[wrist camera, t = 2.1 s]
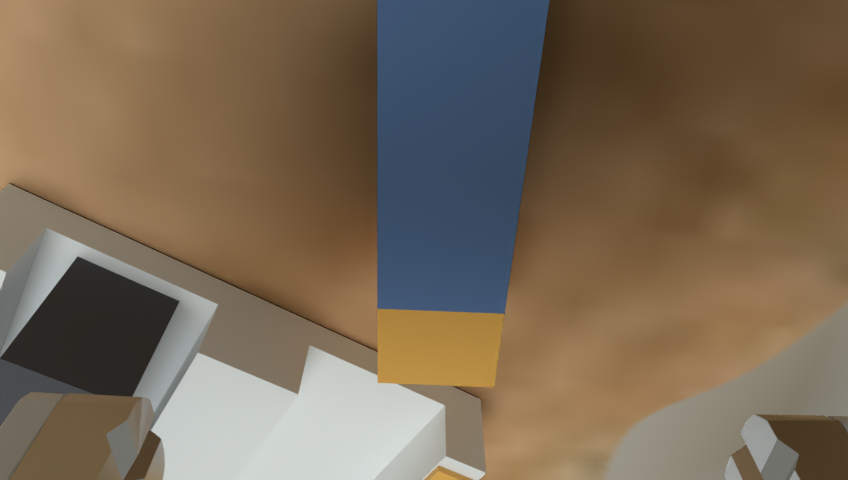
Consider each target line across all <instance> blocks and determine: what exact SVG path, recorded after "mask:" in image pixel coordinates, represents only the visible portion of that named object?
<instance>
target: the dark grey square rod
mask: <svg viewBox="0 0 848 480" xmlns="http://www.w3.org/2000/svg"><path fill="white" fill-rule="evenodd" d="M179 302H180V301H178V300H176V299H174V298H171V297H169V296H167V295H165V294H162V293H160V292H158V291H155V290H153V289H151V288H149V287H146V286H144V285H142V284H139V283H137V282H135V281H133V280H130V279H128V278H126V277H124V276H121V275H119V274H117V273H114V272H112V271H110V270H108V269H105V268H103V267H101V266H98V265H96V264H94V263H92V262H89V261H87V260H85V259H83V258H80V257H78V256H77V258H76V259H75V260H74V262H73V263H72V264H71V266H70V267H69V268H68V270H67V271H66V272H65V274H64V275H63V276H62V277H61V279H60V280H59V281H58V283H57V284H56V285H55V287H54V288H53V289H52V291H51V292H50V293H49V295H48V296H47V297H46V298H45V300H44V301H43V302H42V304H41V305H40V306H39V308H38V309H37V310H36V312H35V313H34V314H33V315H32V317H31V318H30V319H29V321H28V322H27V323H26V325H25V326H24V327H23V329H22V330H21V331H20V333H19V334H18V335H17V336H16V338H15V339H14V340H13V342H12V343H11V344H10V346H9V347H8V348H7V350H6V351H5V352H4V353H3V355H2V356H1V357H0V426H1V425H2V424H3V422H4V421H5V419H6V418H7V417H8V415H9V414H10V412H11V411H12V409H13V408H14V407H15V405H16V404H17V402H18V401H19V400H20V399H21V398H23V397H24V396H26V395H27V394H29V393H31V392H44V393H64V394H69V393H74V394H92V395H110V396H129V397H132V396H133V394H134V392H135V390H136V388H137V386H138V384H139V382H140V380H141V378H142V376H143V374H144V372H145V370H146V368H147V366H148V364H149V362H150V360H151V358H152V356H153V354H154V352H155V350H156V348H157V346H158V344H159V342H160V340H161V338H162V336H163V334H164V332H165V330H166V328H167V326H168V324H169V322H170V320H171V318H172V316H173V314H174V312H175V310H176V308H177V306H178V304H179Z"/></svg>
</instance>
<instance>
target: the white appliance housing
mask: <svg viewBox="0 0 848 480" xmlns="http://www.w3.org/2000/svg"><path fill="white" fill-rule="evenodd" d="M77 256H78V257H80V258H83V259H85V260H87V261H89V262H92V263H94V264H96V265H98V266H101V267H103V268H105V269H108V270H110V271H112V272H114V273H117V274H119V275H121V276H124V277H126V278H128V279H130V280H133V281H135V282H137V283H139V284H142V285H144V286H146V287H149V288H151V289H153V290H155V291H158V292H160V293H162V294H165V295H167V296H169V297H171V298H174V299H176V300H178V301H180V302H179V304H178V306H177V308H176V310H175V312H174V314H173V316H172V318H171V320H170V322H169V324H168V326H167V328H166V330H165V332H164V334H163V336H162V338H161V340H160V342H159V344H158V346H157V348H156V350H155V352H154V354H153V356H152V358H151V360H150V362H149V364H148V366H147V368H146V370H145V372H144V374H143V376H142V378H141V380H140V382H139V384H138V386H137V388H136V390H135V392H134V394H133V396H132V397H143V398H147V399H150V402H151V405H152V408H153V411H154V414H155V418H154V420H153V422H152V425H151V427H150V430H151V431H152V432H153V433H155V434H156V435H157V436H158V437H160V438H161V440H162V444H163V448H164V456H165V469H164V475H163V480H479V479H480V478H481V477H482V476H483V475H485V474H486V464H485V451H484V438H483V424H482V411H481V399H479V398H477V397H475V396H472V395H470V394H468V393H466V392H464V391H461V390H459V389H457V388H455V387H453V386H445V385H419V384H393V383H378V352H376V351H374V350H372V349H370V348H367V347H365V346H363V345H361V344H359V343H356V342H354V341H352V340H350V339H348V338H346V337H343V336H341V335H339V334H337V333H335V332H332V331H330V330H328V329H326V328H324V327H321V326H319V325H317V324H315V323H313V322H311V321H308V320H306V319H304V318H302V317H300V316H297V315H295V314H293V313H291V312H289V311H286V310H284V309H282V308H280V307H278V306H276V305H273V304H271V303H269V302H267V301H265V300H262V299H260V298H258V297H256V296H254V295H251V294H249V293H247V292H245V291H243V290H241V289H238V288H236V287H234V286H232V285H230V284H227V283H225V282H223V281H221V280H219V279H216V278H214V277H212V276H210V275H208V274H206V273H203V272H201V271H199V270H197V269H195V268H192V267H190V266H188V265H186V264H184V263H181V262H179V261H177V260H175V259H173V258H171V257H168V256H166V255H164V254H162V253H160V252H157V251H155V250H153V249H151V248H149V247H146V246H144V245H142V244H140V243H138V242H136V241H133V240H131V239H129V238H127V237H125V236H122V235H120V234H118V233H116V232H114V231H111V230H109V229H107V228H105V227H103V226H101V225H98V224H96V223H94V222H92V221H90V220H87V219H85V218H83V217H81V216H79V215H77V214H74V213H72V212H70V211H68V210H66V209H63V208H61V207H59V206H57V205H55V204H52V203H50V202H48V201H46V200H44V199H42V198H39V197H37V196H35V195H33V194H31V193H28V192H26V191H24V190H22V189H20V188H17V187H15V186H13V185H11V184H8V185H7V186H6V187H5V188H3V189H2V190H1V191H0V357H1V356H2V355H3V353H4V352H5V351H6V350H7V348H8V347H9V346H10V344H11V343H12V342H13V340H14V339H15V338H16V336H17V335H18V334H19V333H20V331H21V330H22V329H23V327H24V326H25V325H26V323H27V322H28V321H29V319H30V318H31V317H32V315H33V314H34V313H35V312H36V310H37V309H38V308H39V306H40V305H41V304H42V302H43V301H44V300H45V298H46V297H47V296H48V295H49V293H50V292H51V291H52V289H53V288H54V287H55V285H56V284H57V283H58V281H59V280H60V279H61V277H62V276H63V275H64V274H65V272H66V271H67V270H68V268H69V267H70V266H71V264H72V263H73V262H74V260H75V259H76V258H77Z"/></svg>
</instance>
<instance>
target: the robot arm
mask: <svg viewBox="0 0 848 480" xmlns="http://www.w3.org/2000/svg"><path fill="white" fill-rule="evenodd" d="M154 418H155V414H154V411H153V408H152V405H151V402H150V399H147V398H143V397H129V396H110V395H92V394H74V393H69V394H64V393H44V392H31V393H29V394H27V395H26V396H24V397H23V398H21V399H20V400H19V401H18V402H17V404H16V405H15V407H14V408H13V409H12V411H11V412H10V414H9V415H8V417H7V418H6V419H5V421H4V422H3V424H2V425H1V426H0V480H163V475H164V469H165V456H164V448H163V444H162V440H161V438H160V437H158V436H157V435H156V434H155V433H153V432H152V431H151V430H150V427H151V425H152V422H153V420H154ZM741 435H742V437H743V438H744V440H745V443H746V445H745V446H744V447H742V448H741V449H739V450H738V451H736V452H735V453H733V454H732V455H731V457H730V459H729V462H728V465H727V467H726V470H725V480H848V417H843V416H828V417H826V416H816V415H813V416H812V415H811V416H810V415H760V414H759V415H758V414H755V415H753V416H752V417H751V418H749V419H748V420H747V421H746V423H745V426H744V427H743V430H742V432H741Z"/></svg>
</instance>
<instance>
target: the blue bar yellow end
mask: <svg viewBox="0 0 848 480" xmlns="http://www.w3.org/2000/svg"><path fill="white" fill-rule="evenodd" d="M549 1H550V0H377V252H378V383H393V384H419V385H445V386H471V387H494V383H495V376H496V369H497V362H498V355H499V348H500V341H501V335H502V328H503V321H504V314H505V307H506V300H507V293H508V286H509V279H510V272H511V265H512V258H513V251H514V244H515V237H516V230H517V223H518V216H519V209H520V202H521V195H522V188H523V182H524V175H525V168H526V161H527V154H528V147H529V140H530V133H531V126H532V119H533V112H534V105H535V98H536V91H537V84H538V77H539V70H540V63H541V56H542V49H543V42H544V36H545V29H546V22H547V15H548V8H549Z"/></svg>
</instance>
